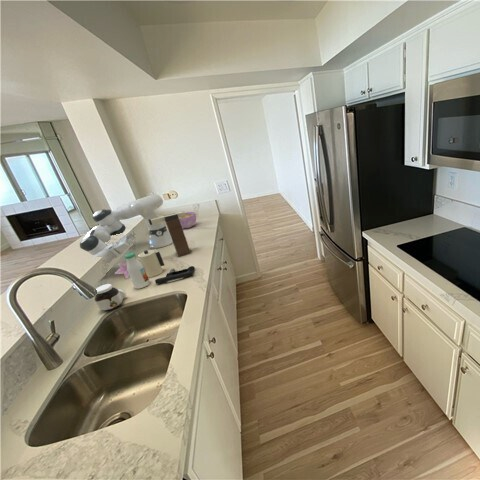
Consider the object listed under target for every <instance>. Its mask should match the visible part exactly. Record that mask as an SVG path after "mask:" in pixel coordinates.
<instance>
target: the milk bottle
mask: <svg viewBox="0 0 480 480" xmlns="http://www.w3.org/2000/svg"><path fill="white" fill-rule="evenodd" d="M124 258H125V261H126V260H127V271H128V273H129V278H130V280H131V282H132V285H133V287H134V288H135V289H136V290H137V289H138V290H139V289H143V288H145V287H147V286H149V285H150V284H151V281H150V277H148V276H147V274H146V271H145V269H144V267H143V265H142V264H141V262H139V261H138V260H137V259H138V258H137V257H136V254H135V252H129V253H126V254H125V255H124Z"/></svg>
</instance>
